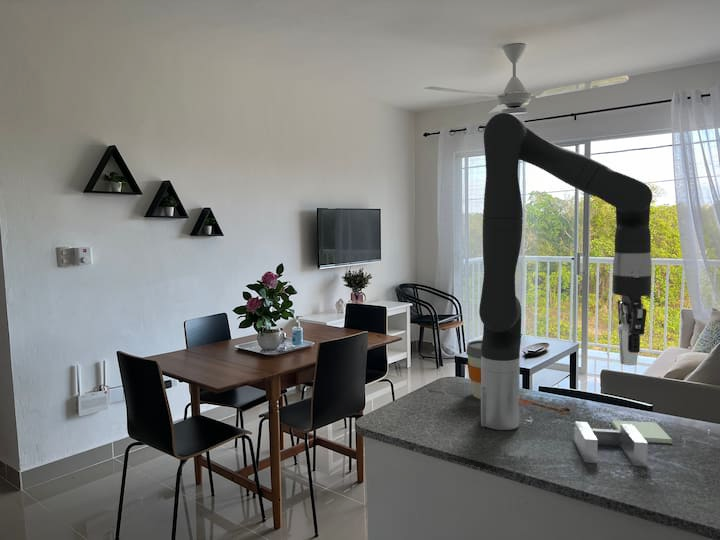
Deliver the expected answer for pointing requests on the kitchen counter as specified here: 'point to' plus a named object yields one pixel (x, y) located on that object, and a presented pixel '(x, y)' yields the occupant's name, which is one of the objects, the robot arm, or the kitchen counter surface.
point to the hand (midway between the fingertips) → (630, 349)
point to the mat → (646, 430)
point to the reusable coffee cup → (475, 366)
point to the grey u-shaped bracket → (610, 442)
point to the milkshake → (625, 346)
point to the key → (527, 403)
